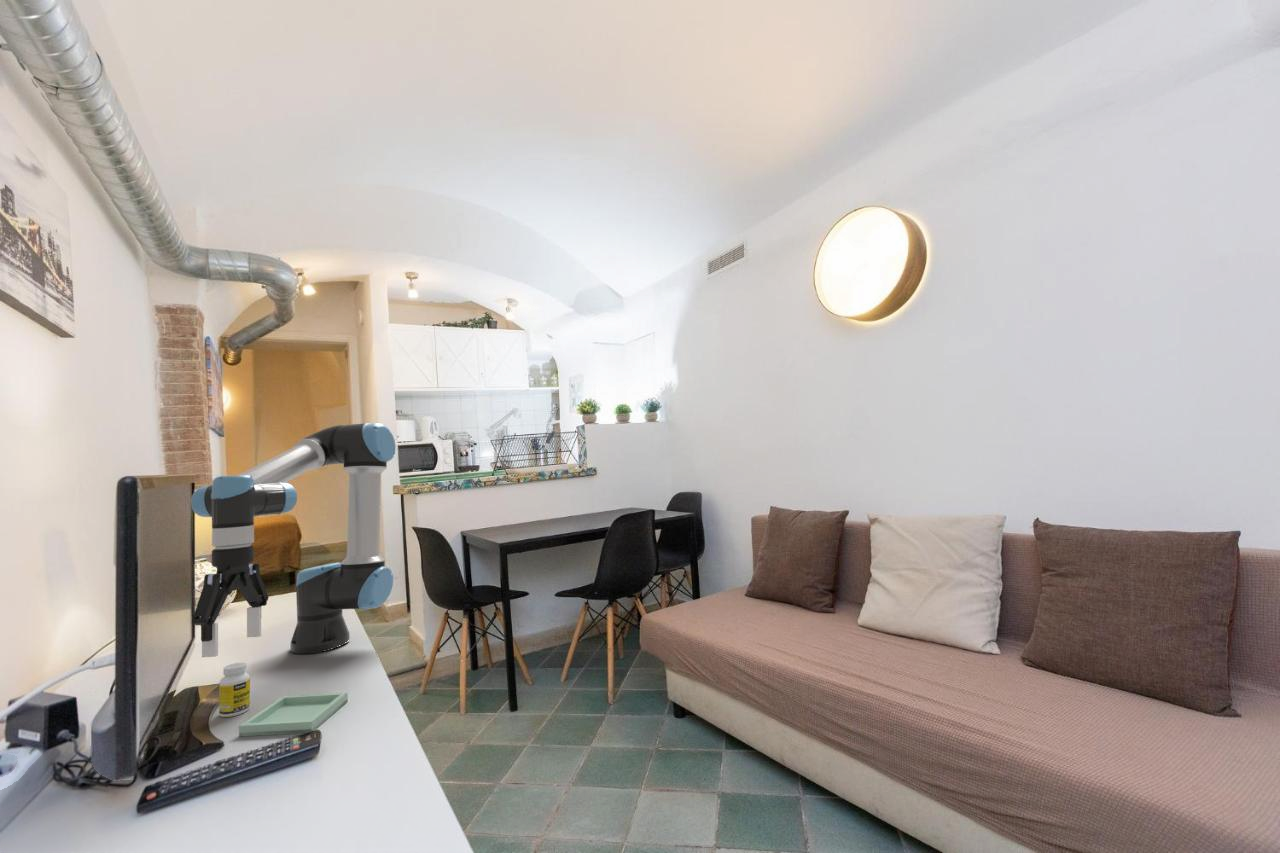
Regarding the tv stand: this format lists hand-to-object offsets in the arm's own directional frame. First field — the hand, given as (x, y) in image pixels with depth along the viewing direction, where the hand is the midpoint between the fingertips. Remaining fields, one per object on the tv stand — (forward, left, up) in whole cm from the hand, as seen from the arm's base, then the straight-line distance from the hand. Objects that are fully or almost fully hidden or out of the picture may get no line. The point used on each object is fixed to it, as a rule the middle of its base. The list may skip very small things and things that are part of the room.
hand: (233, 646), depth 123 cm
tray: (+5, +16, -14) cm, 22 cm away
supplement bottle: (0, 0, -14) cm, 14 cm away
